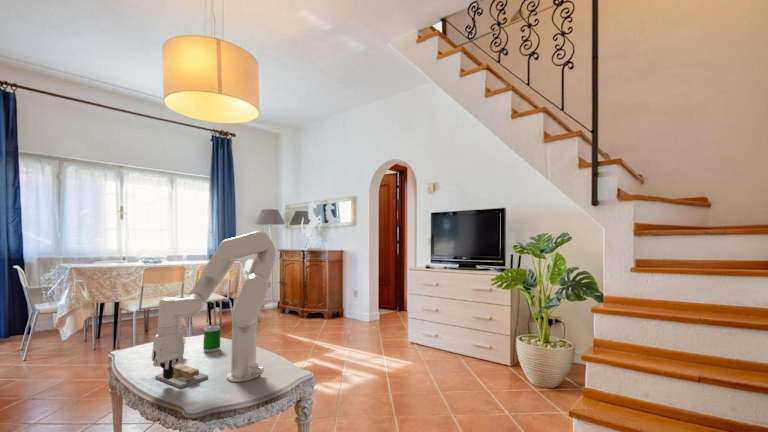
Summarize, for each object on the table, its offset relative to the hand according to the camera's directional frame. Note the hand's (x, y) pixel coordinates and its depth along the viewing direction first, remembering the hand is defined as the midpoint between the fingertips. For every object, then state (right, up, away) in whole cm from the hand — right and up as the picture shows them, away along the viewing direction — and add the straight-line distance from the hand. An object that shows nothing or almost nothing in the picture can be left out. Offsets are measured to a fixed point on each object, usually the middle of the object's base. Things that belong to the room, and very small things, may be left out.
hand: (168, 378), depth 135 cm
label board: (+1, -3, +7) cm, 8 cm away
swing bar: (+1, -1, +7) cm, 7 cm away
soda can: (-3, -5, +41) cm, 42 cm away
